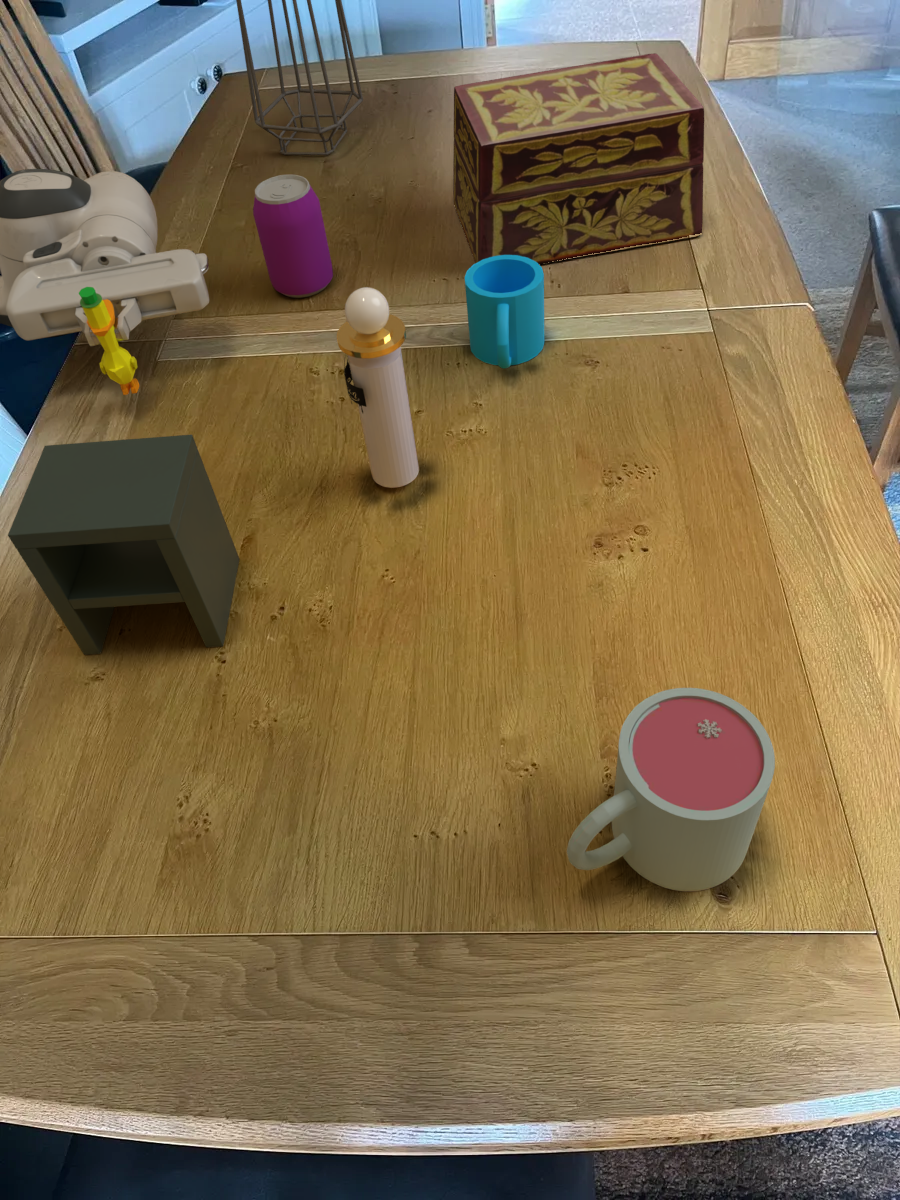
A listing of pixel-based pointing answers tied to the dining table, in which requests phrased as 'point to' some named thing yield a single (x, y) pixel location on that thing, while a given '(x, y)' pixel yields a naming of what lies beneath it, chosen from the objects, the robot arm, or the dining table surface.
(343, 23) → the geometric lantern
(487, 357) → the mug
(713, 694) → the mug
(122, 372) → the toy figure
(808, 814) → the dining table surface
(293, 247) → the beverage can
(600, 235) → the decorative box
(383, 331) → the perfume bottle
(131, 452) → the shelf
